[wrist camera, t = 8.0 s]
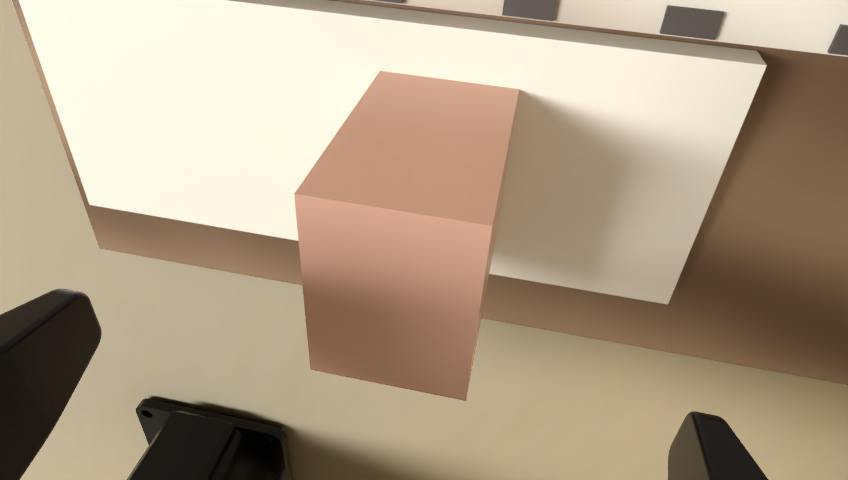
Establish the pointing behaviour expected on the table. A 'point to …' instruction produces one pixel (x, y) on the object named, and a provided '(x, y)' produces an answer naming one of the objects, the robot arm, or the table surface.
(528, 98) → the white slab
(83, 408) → the table surface
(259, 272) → the brown flat board
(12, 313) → the robot arm
